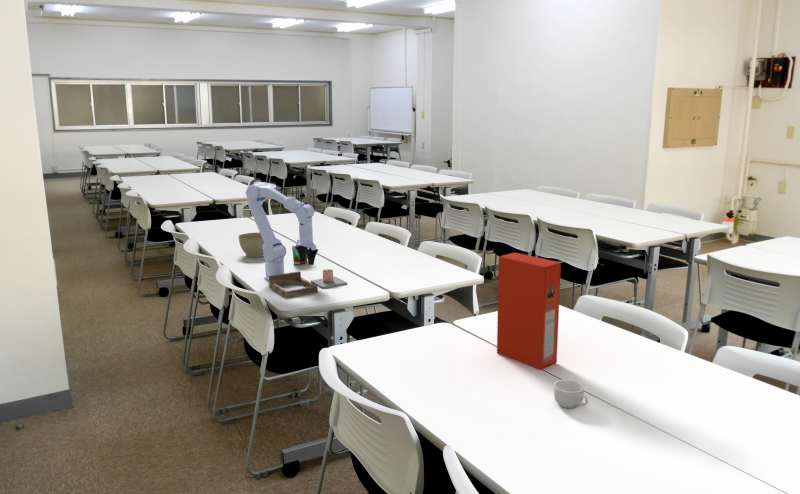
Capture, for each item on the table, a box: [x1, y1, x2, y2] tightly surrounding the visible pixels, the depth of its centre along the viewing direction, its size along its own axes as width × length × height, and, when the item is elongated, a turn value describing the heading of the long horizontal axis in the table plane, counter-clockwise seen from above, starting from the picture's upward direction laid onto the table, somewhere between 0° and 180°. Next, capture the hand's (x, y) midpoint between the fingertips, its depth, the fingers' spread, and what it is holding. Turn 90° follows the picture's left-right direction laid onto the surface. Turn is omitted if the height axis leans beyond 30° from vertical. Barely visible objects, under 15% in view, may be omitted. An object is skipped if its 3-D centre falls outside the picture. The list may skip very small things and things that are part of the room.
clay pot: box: [322, 268, 334, 283], centre depth 283 cm, size 5×5×5 cm
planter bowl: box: [238, 232, 264, 258], centre depth 334 cm, size 16×16×11 cm
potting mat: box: [310, 275, 348, 290], centre depth 283 cm, size 12×12×1 cm
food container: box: [291, 244, 309, 266], centre depth 317 cm, size 12×6×10 cm, turn 168°
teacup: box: [553, 379, 589, 409], centre depth 169 cm, size 10×8×5 cm
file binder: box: [496, 252, 562, 371], centre depth 197 cm, size 8×17×32 cm, turn 40°
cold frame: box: [268, 270, 319, 299], centre depth 274 cm, size 18×14×5 cm
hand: (307, 263), depth 281 cm, fingers open, 7 cm apart
